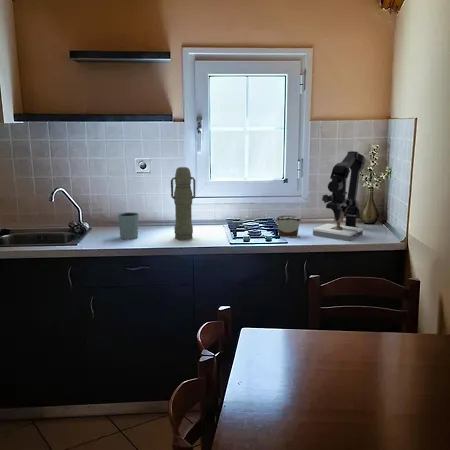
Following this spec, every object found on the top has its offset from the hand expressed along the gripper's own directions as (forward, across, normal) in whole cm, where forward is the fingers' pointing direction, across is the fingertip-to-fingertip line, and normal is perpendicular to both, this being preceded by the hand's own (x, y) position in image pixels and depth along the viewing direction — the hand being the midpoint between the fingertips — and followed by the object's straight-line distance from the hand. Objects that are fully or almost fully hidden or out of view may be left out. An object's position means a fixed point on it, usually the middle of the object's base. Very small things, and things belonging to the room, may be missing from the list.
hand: (338, 220), depth 270 cm
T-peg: (+5, 0, 0) cm, 5 cm away
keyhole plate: (+8, 0, 0) cm, 8 cm away
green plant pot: (+8, +69, -80) cm, 106 cm away
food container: (+8, +16, -20) cm, 27 cm away
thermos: (+8, +53, -58) cm, 79 cm away
